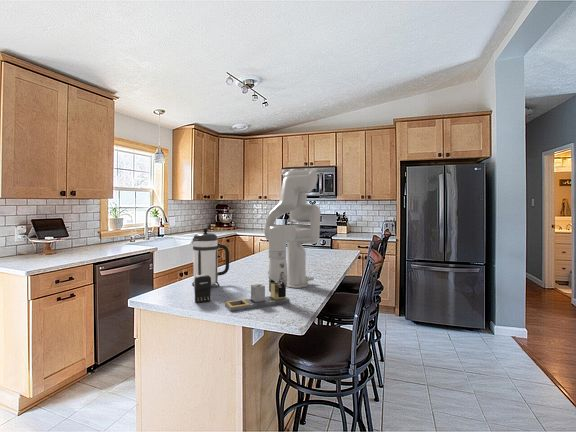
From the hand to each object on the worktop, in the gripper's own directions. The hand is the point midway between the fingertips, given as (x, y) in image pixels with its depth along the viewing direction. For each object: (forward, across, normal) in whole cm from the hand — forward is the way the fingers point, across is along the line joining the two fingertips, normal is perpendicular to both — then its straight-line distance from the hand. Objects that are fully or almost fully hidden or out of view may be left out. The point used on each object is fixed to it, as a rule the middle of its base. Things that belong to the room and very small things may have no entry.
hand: (277, 294), depth 139 cm
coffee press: (+4, +41, +21) cm, 46 cm away
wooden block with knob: (+3, 0, 0) cm, 3 cm away
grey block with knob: (+4, 0, +9) cm, 9 cm away
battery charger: (+4, +14, +29) cm, 32 cm away
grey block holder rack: (+3, 0, +9) cm, 9 cm away
